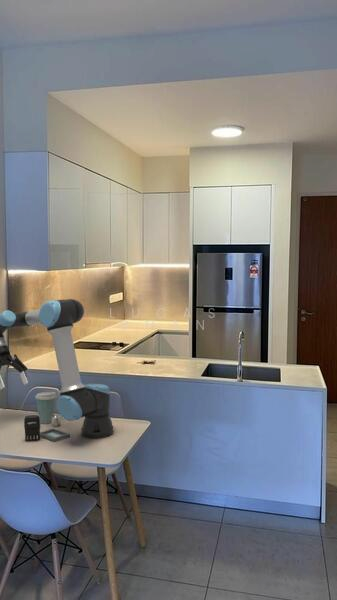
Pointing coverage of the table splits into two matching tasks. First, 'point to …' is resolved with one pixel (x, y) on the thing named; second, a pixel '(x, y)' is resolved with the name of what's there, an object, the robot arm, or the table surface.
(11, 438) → the table surface
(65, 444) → the table surface
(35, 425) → the battery charger
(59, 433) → the dock
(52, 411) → the disposable coffee cup
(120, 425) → the table surface
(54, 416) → the short grey cell
